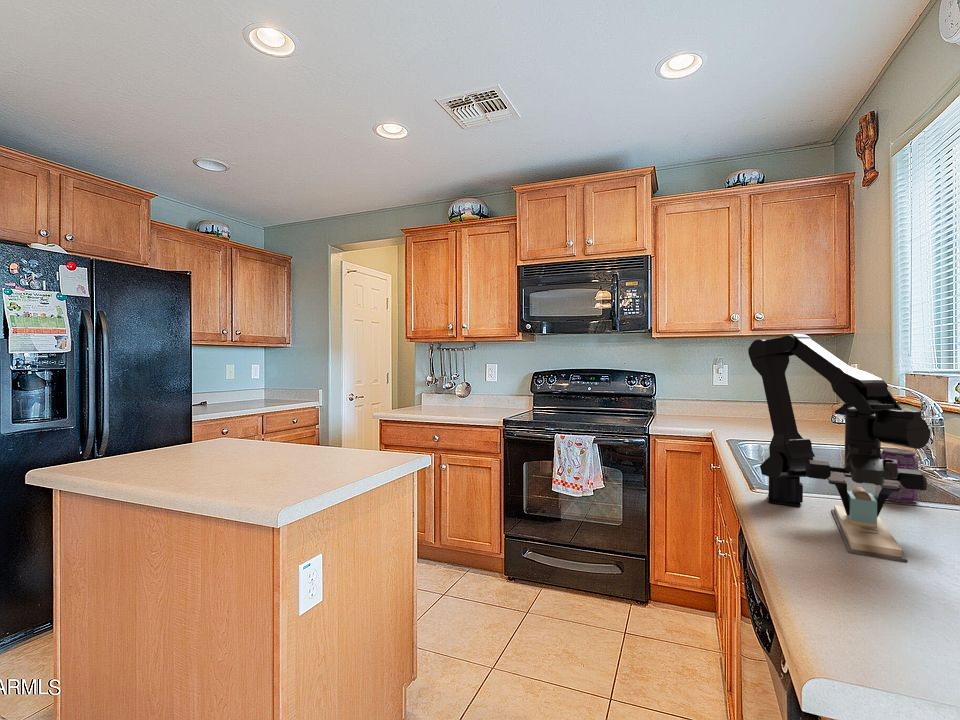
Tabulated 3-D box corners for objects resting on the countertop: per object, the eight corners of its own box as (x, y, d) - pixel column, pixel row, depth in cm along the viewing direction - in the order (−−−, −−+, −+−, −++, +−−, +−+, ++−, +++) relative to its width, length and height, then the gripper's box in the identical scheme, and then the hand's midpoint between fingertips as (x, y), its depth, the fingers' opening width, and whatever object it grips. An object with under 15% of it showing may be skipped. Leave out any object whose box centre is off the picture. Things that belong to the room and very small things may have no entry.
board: (848, 552, 87) (848, 543, 87) (831, 510, 110) (831, 503, 110) (907, 562, 83) (907, 552, 83) (876, 516, 106) (876, 509, 106)
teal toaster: (851, 524, 97) (851, 492, 97) (846, 514, 103) (846, 484, 103) (877, 527, 95) (877, 495, 95) (870, 517, 101) (871, 487, 101)
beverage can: (902, 496, 122) (903, 448, 122) (925, 504, 115) (926, 453, 115) (872, 495, 123) (872, 447, 122) (893, 504, 116) (893, 453, 115)
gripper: (809, 441, 96) (808, 520, 97) (936, 451, 87) (934, 538, 87) (805, 433, 106) (804, 505, 106) (919, 441, 96) (918, 520, 97)
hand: (861, 516), depth 99 cm, fingers closed on teal toaster, 4 cm apart
